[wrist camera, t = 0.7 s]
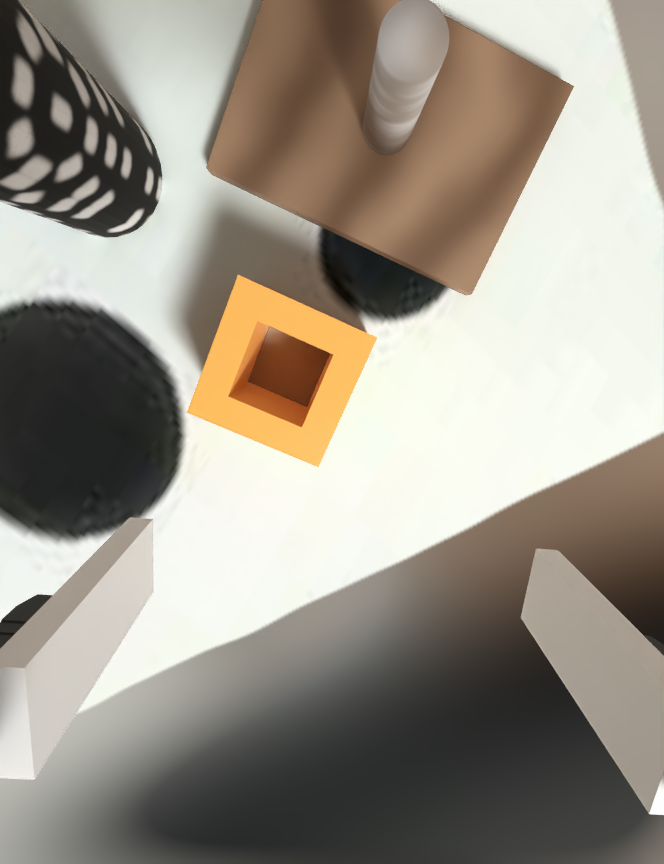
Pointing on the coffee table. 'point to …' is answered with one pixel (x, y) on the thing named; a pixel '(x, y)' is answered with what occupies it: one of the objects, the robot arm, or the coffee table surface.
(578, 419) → the coffee table surface
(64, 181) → the white-spotted black cylinder
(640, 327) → the coffee table surface
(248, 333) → the collar
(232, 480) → the coffee table surface
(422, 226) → the post board
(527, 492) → the coffee table surface
